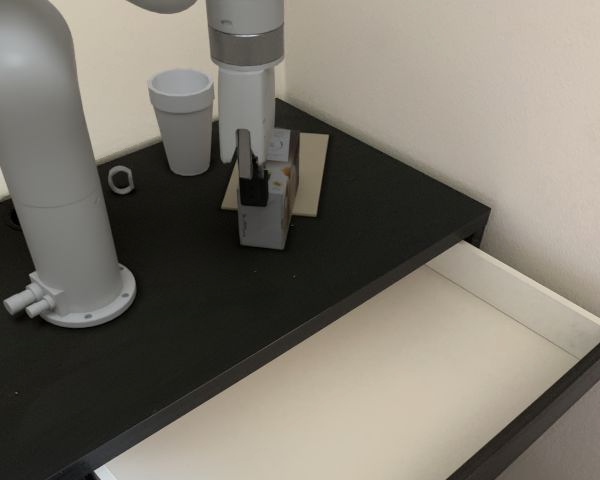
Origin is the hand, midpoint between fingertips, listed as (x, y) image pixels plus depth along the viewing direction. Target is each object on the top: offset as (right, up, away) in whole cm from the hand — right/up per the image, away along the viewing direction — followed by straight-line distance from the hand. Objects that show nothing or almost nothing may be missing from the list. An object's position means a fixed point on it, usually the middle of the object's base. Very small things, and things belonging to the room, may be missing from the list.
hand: (254, 202), depth 80 cm
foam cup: (-12, +13, +25) cm, 31 cm away
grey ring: (-21, +7, +20) cm, 30 cm away
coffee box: (0, 0, +8) cm, 8 cm away
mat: (+2, +12, +25) cm, 28 cm away
